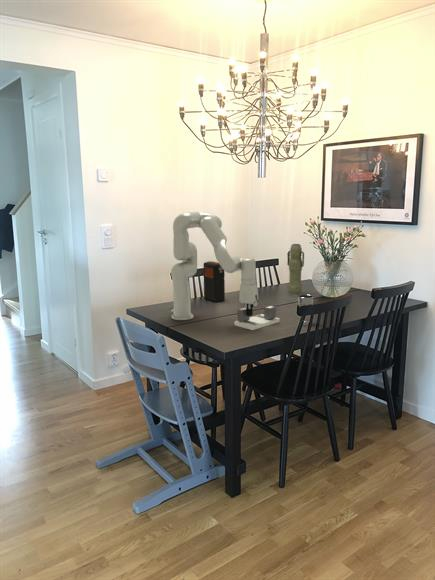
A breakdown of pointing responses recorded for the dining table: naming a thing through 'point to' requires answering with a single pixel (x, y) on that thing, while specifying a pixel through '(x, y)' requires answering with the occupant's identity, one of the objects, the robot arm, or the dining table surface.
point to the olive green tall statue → (295, 269)
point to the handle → (269, 312)
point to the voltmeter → (214, 282)
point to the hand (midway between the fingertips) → (249, 315)
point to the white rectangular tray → (256, 322)
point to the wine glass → (305, 301)
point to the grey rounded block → (242, 315)
